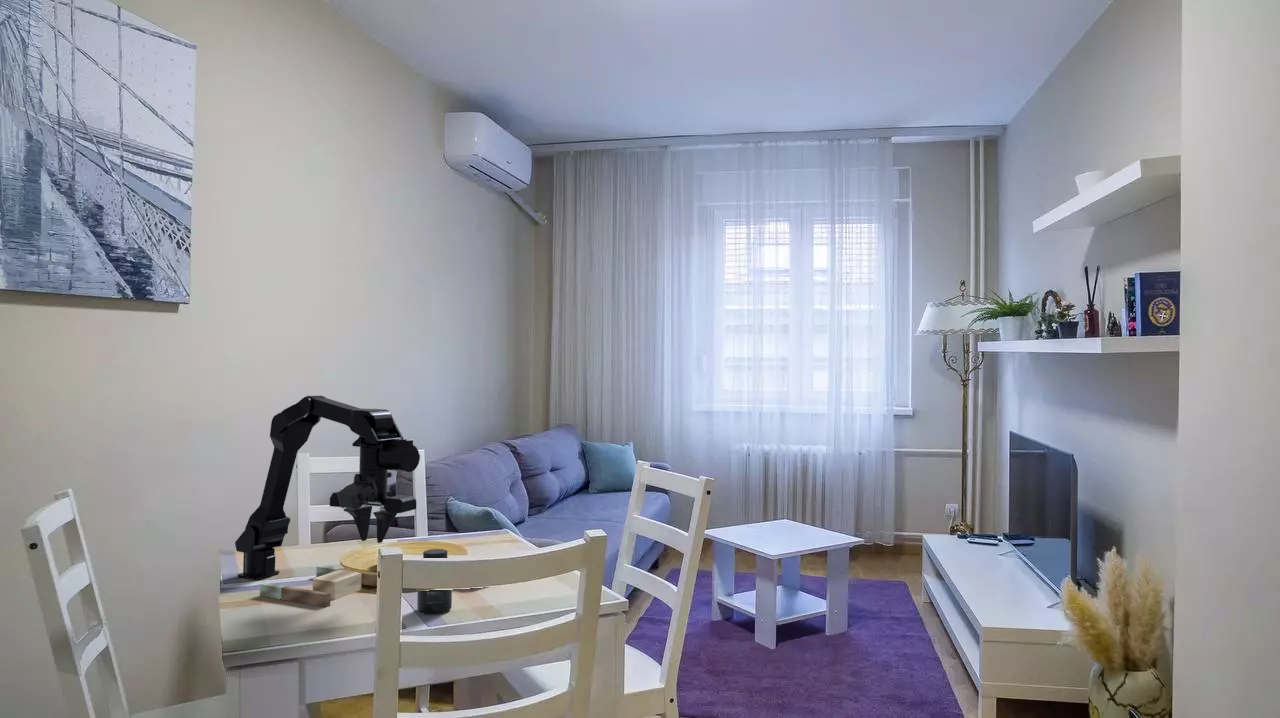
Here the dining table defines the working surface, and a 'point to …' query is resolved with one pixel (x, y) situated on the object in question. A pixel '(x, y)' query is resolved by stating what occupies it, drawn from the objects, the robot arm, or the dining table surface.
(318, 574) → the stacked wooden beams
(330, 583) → the light wood block
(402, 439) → the robot arm
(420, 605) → the supplement bottle
